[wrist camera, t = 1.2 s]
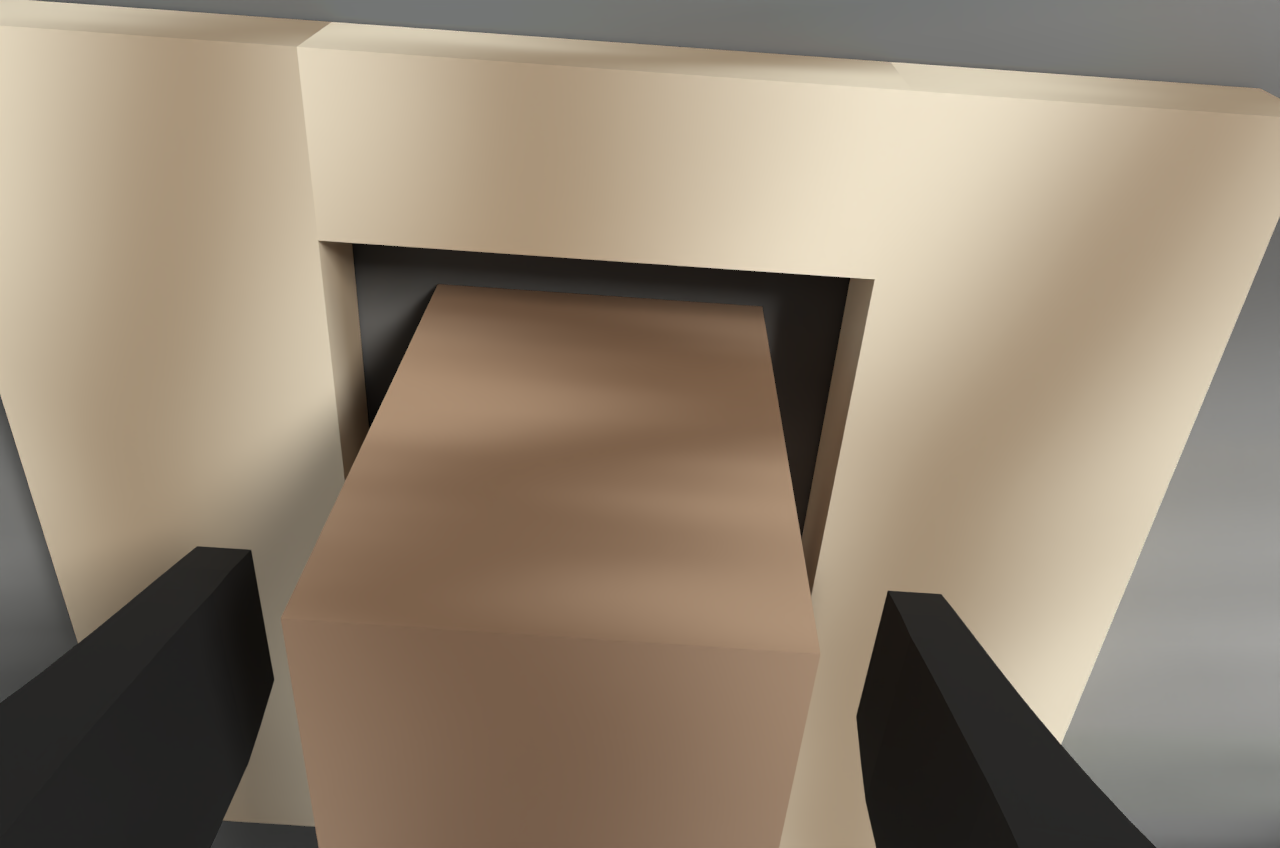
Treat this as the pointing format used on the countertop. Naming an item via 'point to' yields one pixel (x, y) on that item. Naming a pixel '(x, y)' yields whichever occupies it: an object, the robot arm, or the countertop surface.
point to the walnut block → (560, 587)
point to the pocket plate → (625, 232)
